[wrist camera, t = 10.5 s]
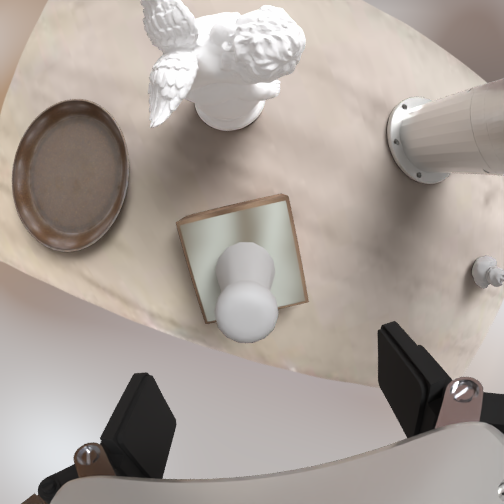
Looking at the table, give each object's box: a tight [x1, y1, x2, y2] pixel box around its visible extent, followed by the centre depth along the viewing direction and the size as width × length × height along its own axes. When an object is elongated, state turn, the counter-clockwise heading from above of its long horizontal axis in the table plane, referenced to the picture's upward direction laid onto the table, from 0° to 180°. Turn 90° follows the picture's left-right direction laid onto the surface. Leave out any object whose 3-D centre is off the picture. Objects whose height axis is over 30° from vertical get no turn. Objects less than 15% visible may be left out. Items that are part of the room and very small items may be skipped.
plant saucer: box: [12, 99, 129, 252], centre depth 33 cm, size 21×21×3 cm
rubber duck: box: [472, 255, 504, 288], centre depth 35 cm, size 5×7×8 cm
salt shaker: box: [214, 242, 278, 343], centre depth 25 cm, size 6×6×13 cm
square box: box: [176, 194, 309, 324], centre depth 34 cm, size 12×12×6 cm
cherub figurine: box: [140, 0, 306, 131], centre depth 23 cm, size 12×12×22 cm
